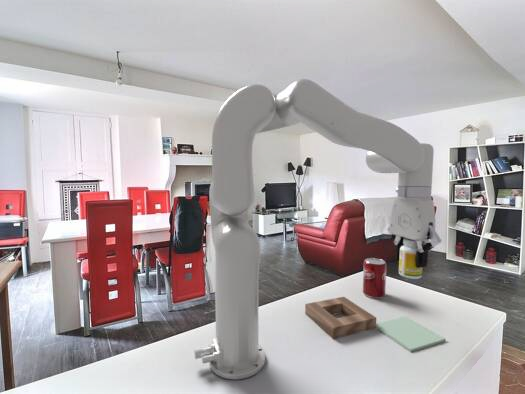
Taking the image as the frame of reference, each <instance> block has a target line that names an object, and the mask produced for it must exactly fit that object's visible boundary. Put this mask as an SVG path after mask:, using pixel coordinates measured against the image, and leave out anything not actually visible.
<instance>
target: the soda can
mask: <svg viewBox="0 0 525 394" xmlns="http://www.w3.org/2000/svg"><path fill="white" fill-rule="evenodd" d="M362 275H363V277H362V293H363V295H364V296H365V297H367V298H370V299H383V298H384V297H386V283H387V281H386V280H387V262H386V261H385V260H383V259H381V258H376V257H369V258H365V259H364V261H363V274H362Z"/></svg>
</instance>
